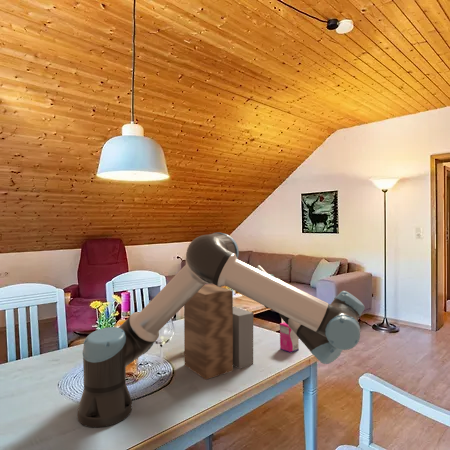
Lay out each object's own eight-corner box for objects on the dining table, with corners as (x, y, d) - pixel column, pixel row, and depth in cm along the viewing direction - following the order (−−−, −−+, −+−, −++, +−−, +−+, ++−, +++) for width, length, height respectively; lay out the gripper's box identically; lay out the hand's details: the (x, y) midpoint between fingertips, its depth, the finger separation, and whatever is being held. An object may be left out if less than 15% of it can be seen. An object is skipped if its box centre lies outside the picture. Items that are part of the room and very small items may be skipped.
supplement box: (288, 346, 156) (288, 320, 156) (299, 350, 151) (299, 323, 151) (279, 349, 152) (279, 322, 152) (289, 353, 148) (289, 326, 147)
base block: (239, 368, 133) (239, 315, 132) (220, 358, 143) (220, 309, 142) (253, 364, 137) (253, 312, 137) (234, 354, 147) (234, 306, 146)
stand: (205, 379, 124) (205, 294, 123) (184, 365, 136) (184, 287, 136) (232, 370, 131) (232, 290, 130) (210, 357, 143) (210, 284, 143)
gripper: (271, 331, 102) (230, 280, 118) (310, 320, 111) (267, 275, 128) (280, 311, 99) (236, 262, 115) (320, 302, 108) (274, 258, 124)
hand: (253, 269), depth 121 cm, fingers closed on bar, 3 cm apart
